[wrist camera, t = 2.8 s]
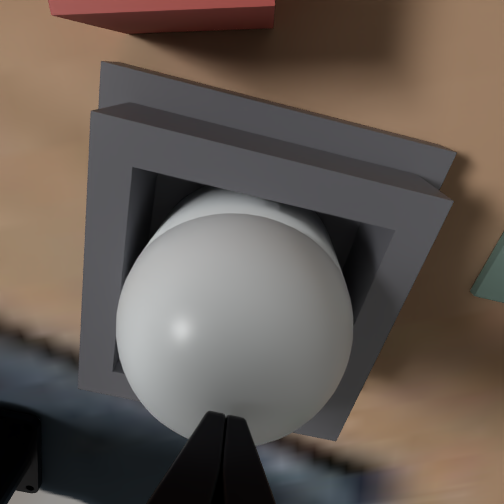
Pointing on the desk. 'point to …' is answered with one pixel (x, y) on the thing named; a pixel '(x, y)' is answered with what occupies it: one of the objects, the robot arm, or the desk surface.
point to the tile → (492, 276)
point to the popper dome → (235, 315)
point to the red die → (167, 14)
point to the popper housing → (259, 185)
